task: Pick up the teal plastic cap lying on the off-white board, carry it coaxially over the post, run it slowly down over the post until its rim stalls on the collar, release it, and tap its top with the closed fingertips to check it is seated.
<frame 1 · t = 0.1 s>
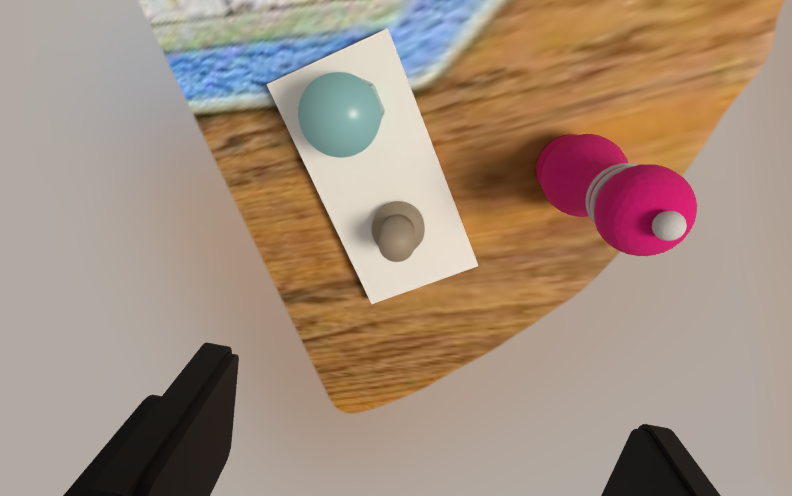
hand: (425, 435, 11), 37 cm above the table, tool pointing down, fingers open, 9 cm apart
cap: (348, 111, 43), point 2 cm above the table, touching board
board: (379, 177, 46), on the table
pepper mill: (567, 166, 45), on the table
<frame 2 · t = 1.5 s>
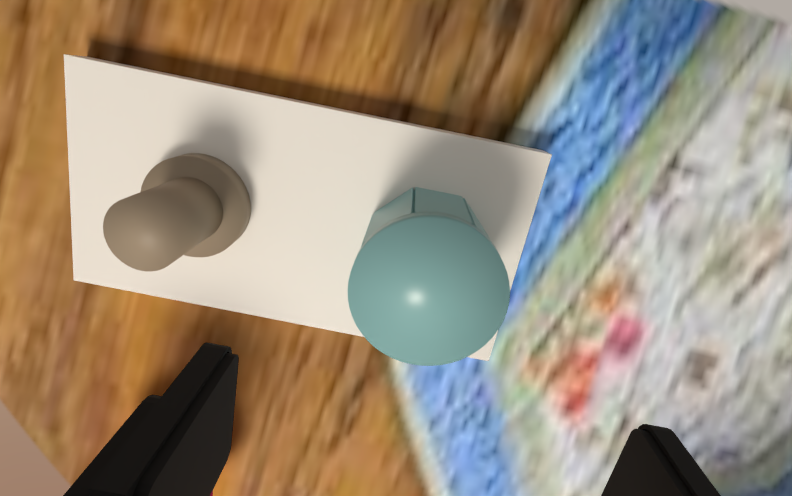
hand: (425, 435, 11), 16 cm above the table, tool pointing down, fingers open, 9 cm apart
cap: (425, 247, 24), point 2 cm above the table, touching board
board: (302, 213, 26), on the table
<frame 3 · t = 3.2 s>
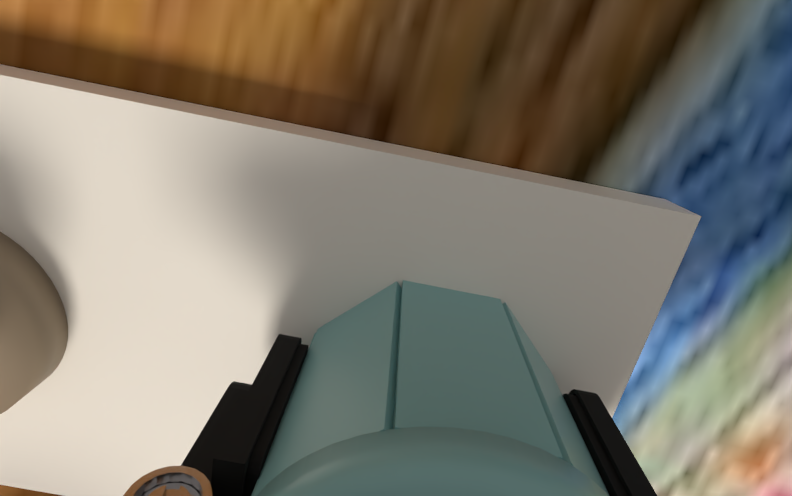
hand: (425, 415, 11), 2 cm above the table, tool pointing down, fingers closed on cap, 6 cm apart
cap: (424, 393, 12), point 2 cm above the table, touching board, gripper
board: (189, 315, 13), on the table
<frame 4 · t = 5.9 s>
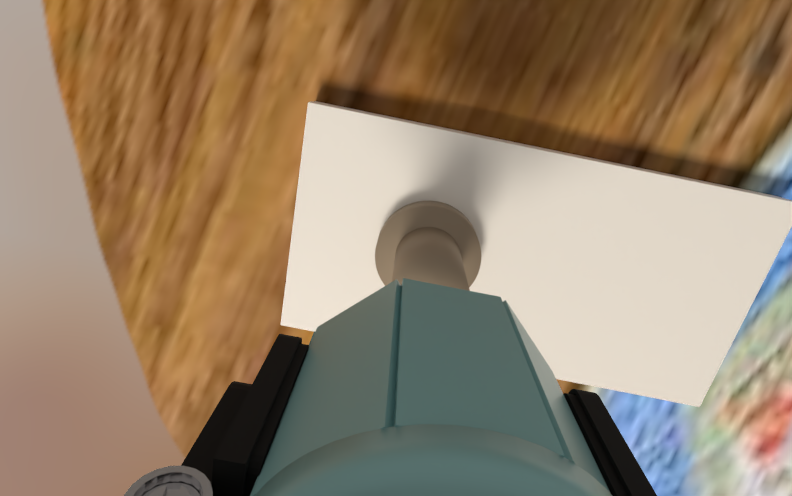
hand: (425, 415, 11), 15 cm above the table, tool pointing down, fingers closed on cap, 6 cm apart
cap: (424, 392, 12), point 14 cm above the table, touching gripper
board: (516, 257, 25), on the table
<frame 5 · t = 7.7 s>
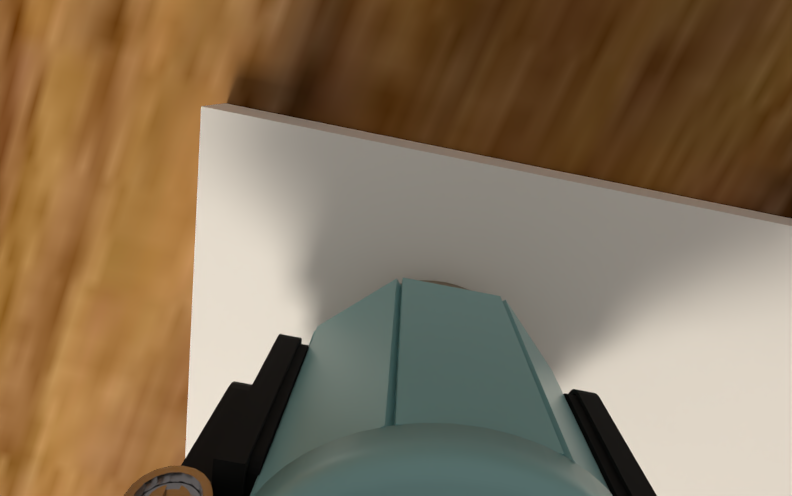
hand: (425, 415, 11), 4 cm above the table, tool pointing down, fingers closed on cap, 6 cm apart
cap: (424, 391, 12), point 3 cm above the table, touching gripper
board: (571, 360, 15), on the table
when the fingers open (4 cm above the table, at t = 8.9 s): cap stays where it is, resting on board.
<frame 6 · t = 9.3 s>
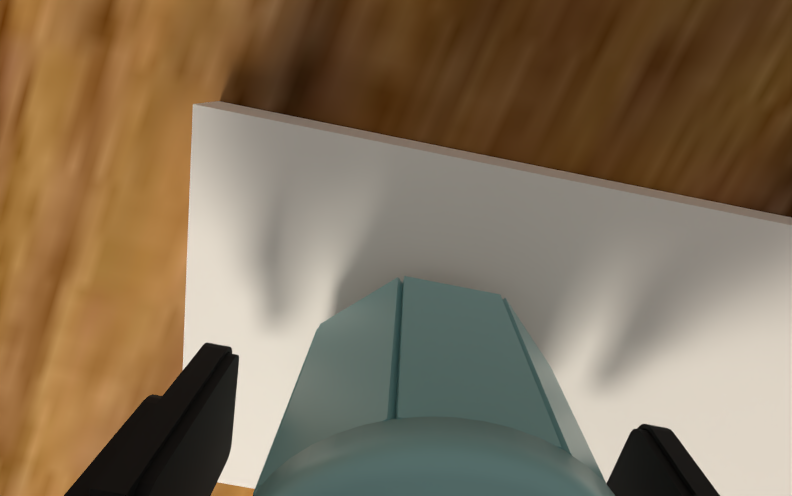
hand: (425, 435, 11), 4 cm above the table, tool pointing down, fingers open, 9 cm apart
cap: (425, 388, 12), point 3 cm above the table, touching board
board: (571, 363, 15), on the table
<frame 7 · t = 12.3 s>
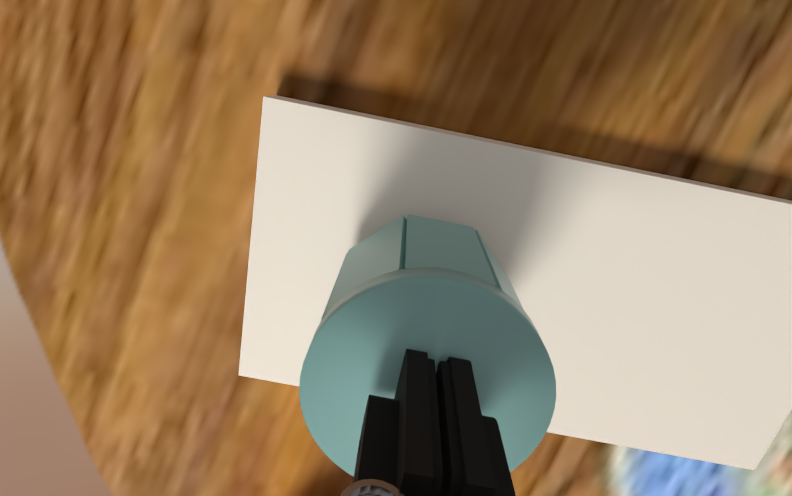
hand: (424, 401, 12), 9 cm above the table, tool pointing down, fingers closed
cap: (422, 297, 18), point 3 cm above the table, touching board, gripper
board: (531, 290, 20), on the table
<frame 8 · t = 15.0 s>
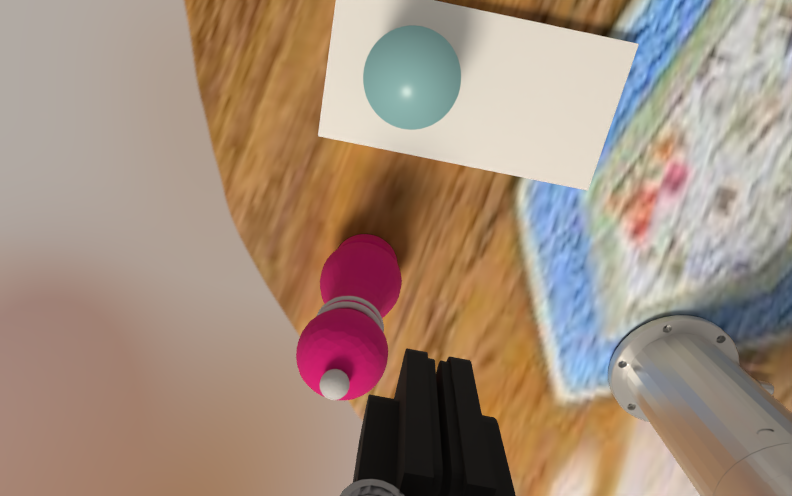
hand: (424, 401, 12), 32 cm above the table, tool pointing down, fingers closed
cap: (412, 79, 37), point 3 cm above the table, touching board
board: (469, 91, 40), on the table
pepper mill: (366, 262, 46), on the table
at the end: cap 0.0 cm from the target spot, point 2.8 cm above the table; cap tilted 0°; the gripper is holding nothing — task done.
